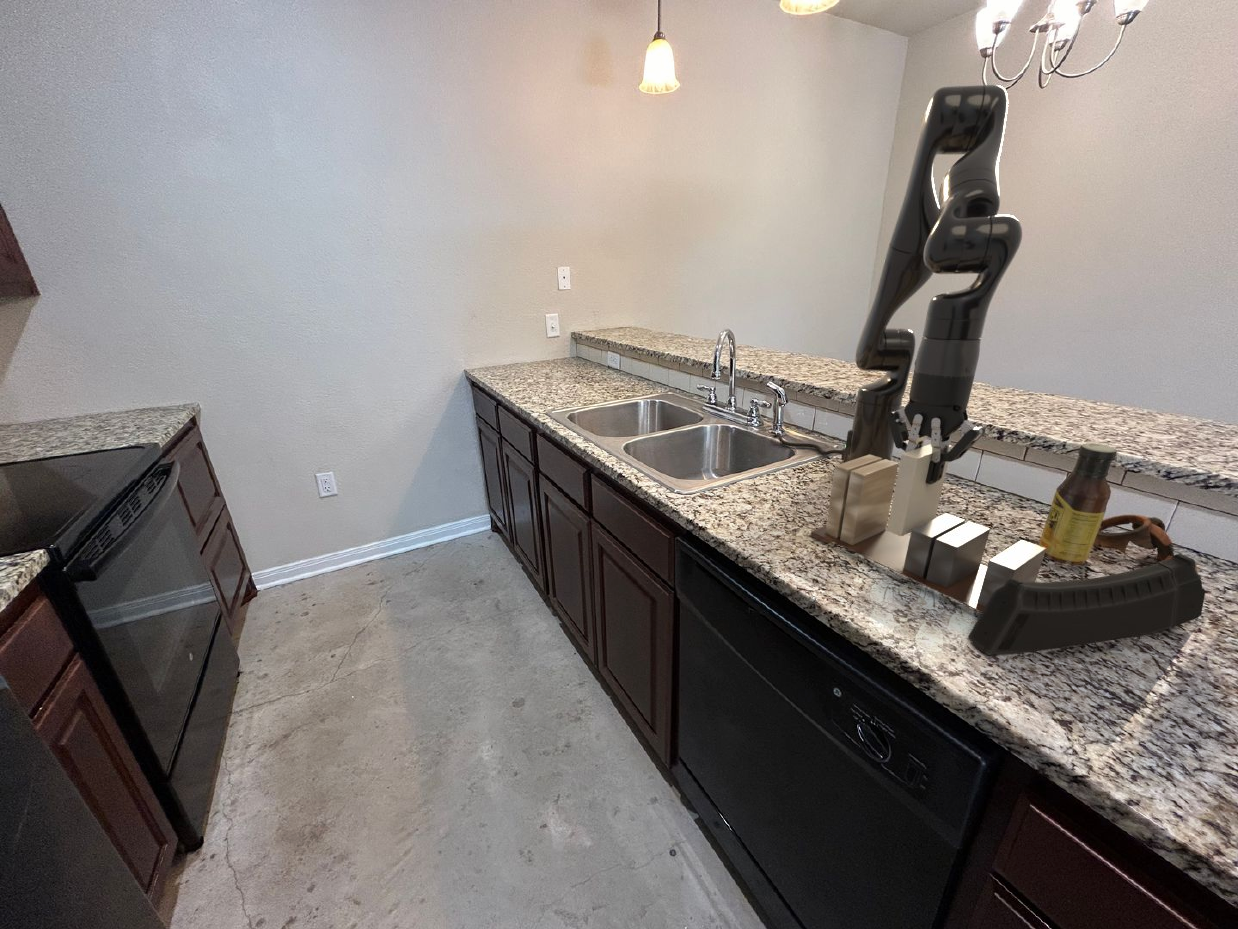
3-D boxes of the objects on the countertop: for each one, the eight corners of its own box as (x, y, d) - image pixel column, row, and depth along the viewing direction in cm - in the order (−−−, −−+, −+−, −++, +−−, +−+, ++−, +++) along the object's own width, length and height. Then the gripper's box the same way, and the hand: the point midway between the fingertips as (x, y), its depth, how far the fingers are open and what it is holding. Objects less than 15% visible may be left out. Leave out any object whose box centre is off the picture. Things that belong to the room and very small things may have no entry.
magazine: (986, 605, 57) (1222, 514, 58) (963, 588, 60) (1188, 503, 61) (989, 708, 63) (1201, 625, 64) (968, 688, 66) (1172, 609, 67)
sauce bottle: (1038, 546, 86) (1073, 436, 79) (1086, 560, 82) (1128, 445, 74) (1032, 561, 81) (1068, 446, 74) (1082, 576, 77) (1126, 456, 70)
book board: (810, 536, 91) (820, 464, 86) (854, 517, 97) (865, 450, 92) (1007, 630, 66) (1036, 537, 61) (1047, 597, 72) (1077, 511, 67)
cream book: (886, 530, 79) (901, 453, 75) (920, 514, 84) (936, 441, 80) (901, 536, 77) (917, 458, 73) (935, 520, 82) (952, 445, 78)
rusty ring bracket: (1168, 585, 75) (1146, 537, 75) (1091, 580, 84) (1071, 537, 84) (1199, 546, 80) (1178, 501, 79) (1123, 545, 89) (1104, 504, 88)
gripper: (1011, 373, 68) (981, 489, 74) (910, 360, 79) (891, 462, 85) (985, 379, 65) (956, 501, 71) (883, 365, 76) (865, 471, 82)
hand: (920, 479), depth 78 cm, fingers closed on cream book, 2 cm apart
